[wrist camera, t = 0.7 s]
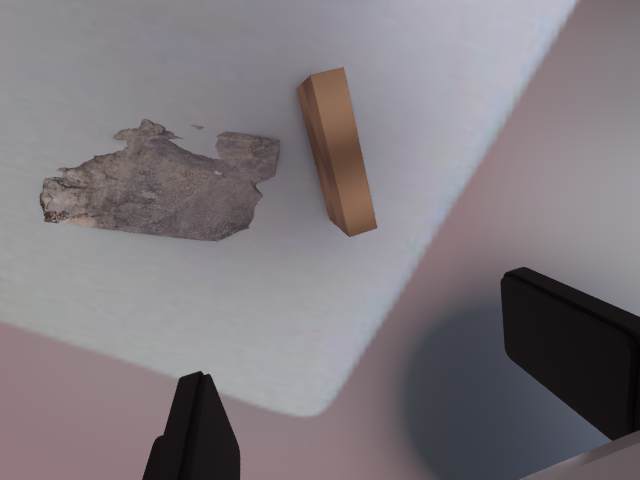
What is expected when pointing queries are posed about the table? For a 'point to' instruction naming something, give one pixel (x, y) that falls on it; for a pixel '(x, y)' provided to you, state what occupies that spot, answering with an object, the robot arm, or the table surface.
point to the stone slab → (164, 186)
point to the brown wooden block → (337, 150)
